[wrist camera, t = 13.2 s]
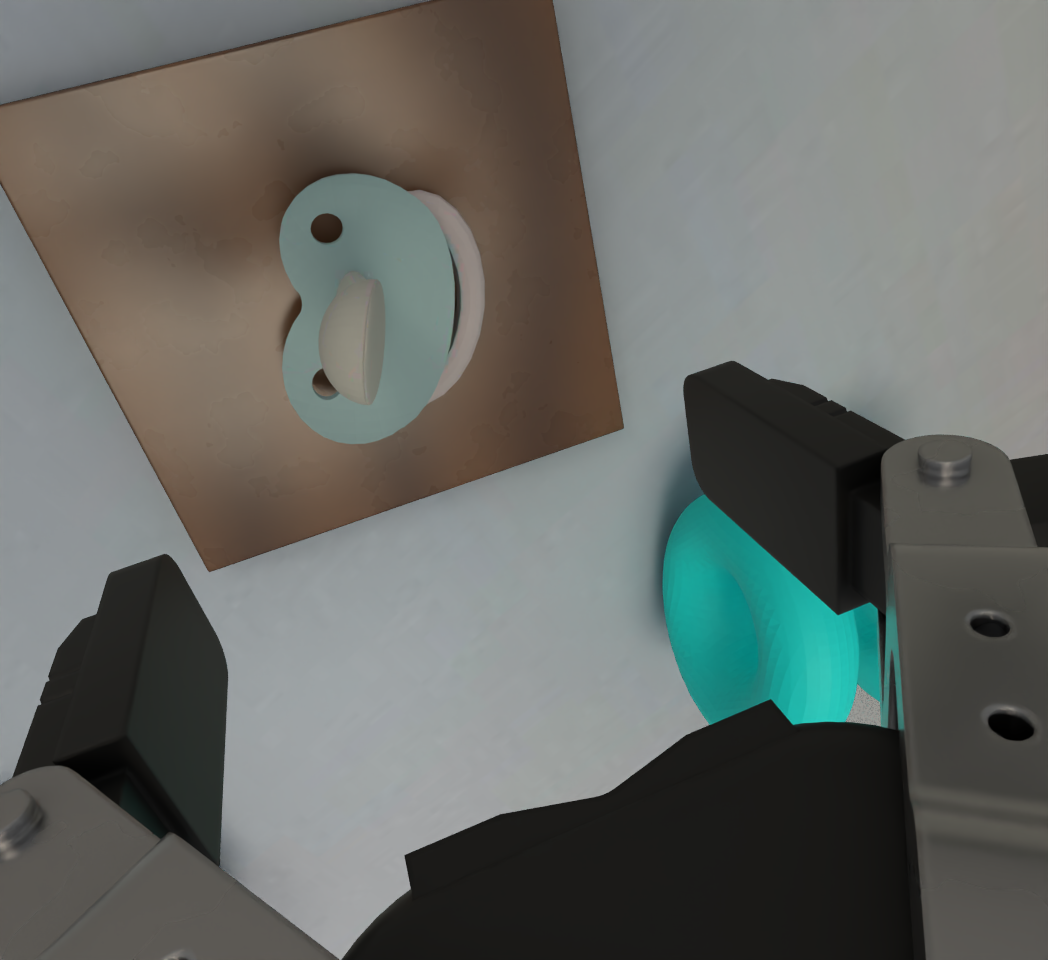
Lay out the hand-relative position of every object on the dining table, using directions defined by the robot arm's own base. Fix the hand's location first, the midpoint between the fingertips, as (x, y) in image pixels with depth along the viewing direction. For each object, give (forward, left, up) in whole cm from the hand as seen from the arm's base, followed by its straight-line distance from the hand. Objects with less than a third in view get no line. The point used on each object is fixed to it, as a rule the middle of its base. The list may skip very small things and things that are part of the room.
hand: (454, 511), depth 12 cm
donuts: (+13, -15, -15) cm, 25 cm away
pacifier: (+1, 0, -13) cm, 13 cm away
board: (0, 0, -14) cm, 14 cm away
